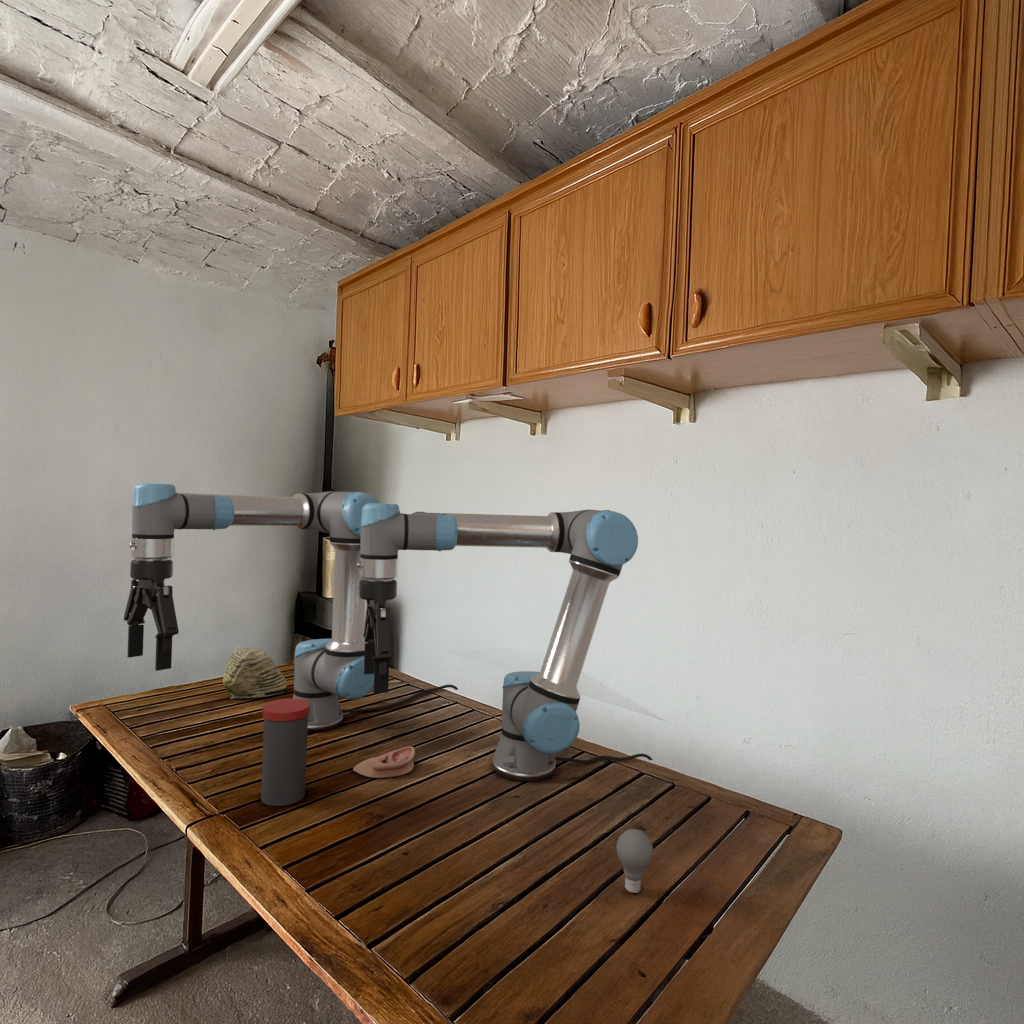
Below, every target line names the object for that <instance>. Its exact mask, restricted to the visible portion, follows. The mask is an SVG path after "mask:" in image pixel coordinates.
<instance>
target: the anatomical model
mask: <svg viewBox="0 0 1024 1024" xmlns="http://www.w3.org/2000/svg"><path fill="white" fill-rule="evenodd" d="M415 755H416V749H415V747H413V746H406V747H405V746H404V747H401V748H398V749H394V750H391V751H389V752H386V753H383V754H381V755H378V756H375V757H370V758H367V759H364V760H363V761H361V762H359V763H358V764H356V765H355V766H354V767H353V768H352V770H353V771H354V772H356V773H357V774H359V775H361V776H364V777H368V778H371V779H379V778H380V779H382V778H391V777H399V776H403V775H405V774H408V773H410V772H411V771H413V770H414V766H415V763H414V761H413V760H414V758H415Z"/></svg>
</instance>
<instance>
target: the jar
mask: <svg viewBox="0 0 1024 1024" xmlns="http://www.w3.org/2000/svg"><path fill="white" fill-rule="evenodd" d="M307 730H308V715H307V716H306V717H304V718H301V719H298V720H293V721H271V720H267V719H265V718H264V717H263V730H262V731H263V734H262V736H263V737H262V756H261V757H262V761H261V786H260V787H261V788H260V789H261V790H260V800H261V802H262V803H263V804H265V805H267V806H272V807H284V806H285V807H286V806H290V805H293V804H296V803H298V802H300V801H301V800H303V799H304V798H305V795H306V781H307V756H308V755H307V754H308V753H307V752H308V732H307Z"/></svg>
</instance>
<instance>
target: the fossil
mask: <svg viewBox="0 0 1024 1024" xmlns="http://www.w3.org/2000/svg"><path fill="white" fill-rule="evenodd" d="M222 676H223V677H222V685H223V687H224V688H225V690H226V691H228V693H229V698H230V699H250V698H264V697H271V696H275V695H281V694H284V693H285V691H286V689H287V687H288V686H287V680H286V678H285V676H284V674H283V673H282V672H281V669H279V668H278V667H277V665H276V663H275V662H274V660H273V659H272V658H271V657H270V656H269V655H268V654H267V653H266V652H265V650H264V649H263V648H260V647H258V648H251V647H247V646H246V647H245V646H238V647H237V648H236V649H235V650H233V651H232V653H231V656H230V657H229V659H228V660H227V663H226V666H225V668H224V671H223V675H222Z"/></svg>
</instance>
